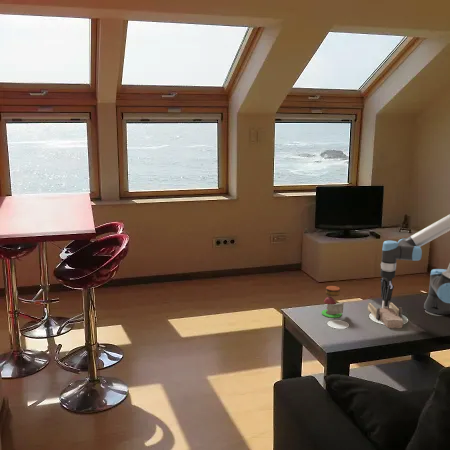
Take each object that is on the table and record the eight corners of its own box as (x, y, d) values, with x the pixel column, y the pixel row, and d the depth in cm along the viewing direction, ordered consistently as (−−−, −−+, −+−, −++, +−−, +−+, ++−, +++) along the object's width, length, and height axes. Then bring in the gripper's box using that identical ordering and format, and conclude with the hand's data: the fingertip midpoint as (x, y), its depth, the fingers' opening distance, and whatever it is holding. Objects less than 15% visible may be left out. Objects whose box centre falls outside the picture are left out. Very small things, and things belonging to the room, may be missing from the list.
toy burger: (314, 313, 269) (316, 287, 266) (330, 308, 276) (331, 283, 273) (331, 320, 260) (333, 293, 257) (347, 315, 267) (349, 288, 264)
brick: (403, 328, 252) (404, 319, 251) (387, 328, 251) (387, 319, 250) (391, 315, 268) (392, 307, 267) (376, 315, 268) (376, 307, 267)
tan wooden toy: (391, 309, 276) (392, 299, 274) (401, 318, 263) (402, 308, 261) (367, 309, 275) (368, 299, 273) (376, 319, 262) (377, 308, 260)
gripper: (376, 266, 269) (373, 306, 274) (385, 273, 256) (382, 316, 261) (390, 265, 269) (386, 306, 275) (400, 273, 257) (396, 315, 262)
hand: (384, 311), depth 268 cm, fingers closed
